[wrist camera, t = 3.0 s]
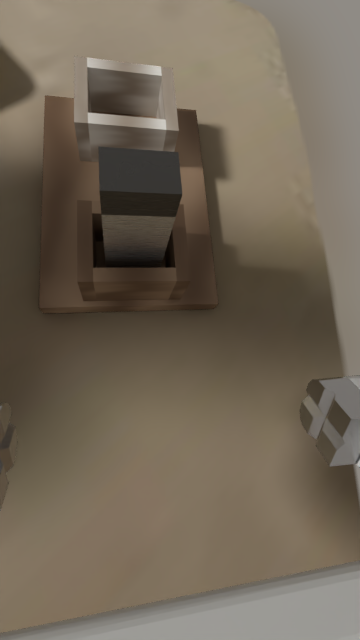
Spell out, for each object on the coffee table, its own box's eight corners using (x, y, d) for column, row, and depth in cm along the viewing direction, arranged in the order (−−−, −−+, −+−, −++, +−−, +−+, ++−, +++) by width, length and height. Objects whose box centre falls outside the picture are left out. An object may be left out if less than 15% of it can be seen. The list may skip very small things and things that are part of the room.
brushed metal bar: (106, 279, 26) (99, 190, 15) (106, 250, 26) (98, 146, 16) (157, 278, 26) (182, 194, 16) (155, 251, 27) (178, 152, 17)
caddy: (43, 313, 26) (24, 288, 20) (48, 110, 31) (34, 48, 25) (213, 309, 28) (235, 286, 23) (192, 123, 33) (206, 70, 28)
